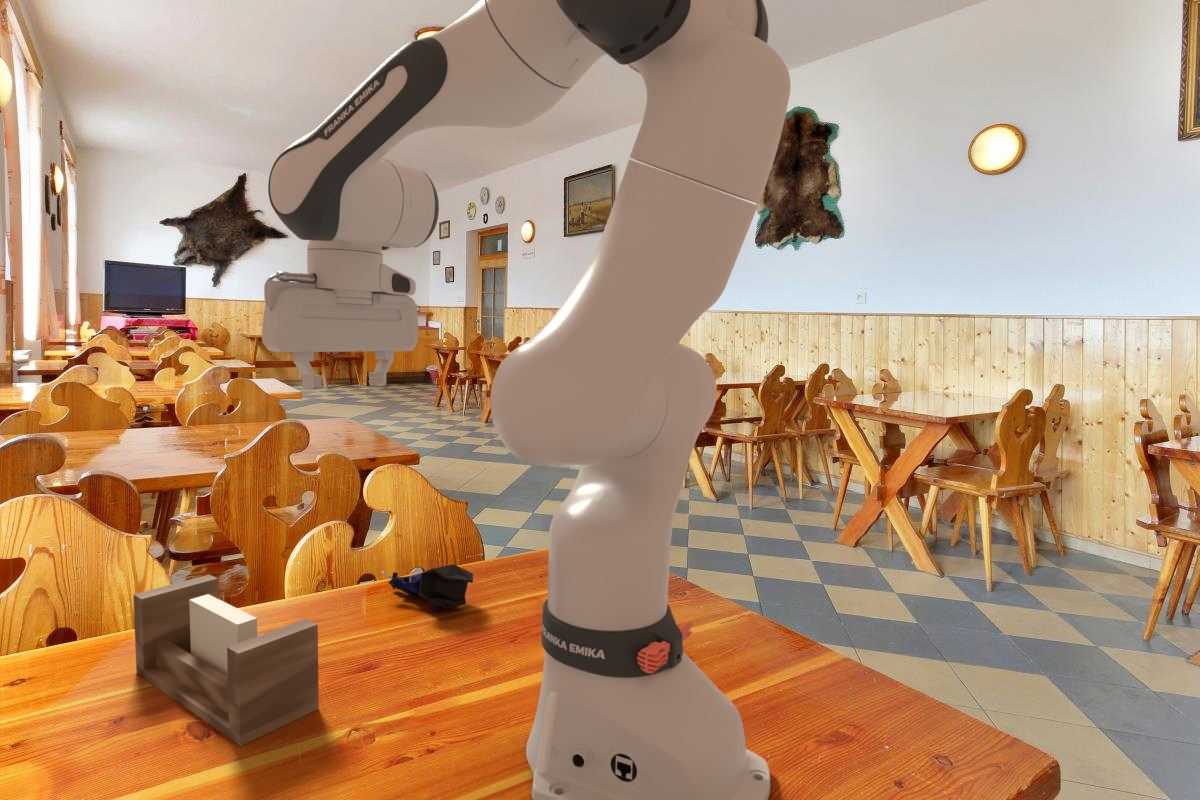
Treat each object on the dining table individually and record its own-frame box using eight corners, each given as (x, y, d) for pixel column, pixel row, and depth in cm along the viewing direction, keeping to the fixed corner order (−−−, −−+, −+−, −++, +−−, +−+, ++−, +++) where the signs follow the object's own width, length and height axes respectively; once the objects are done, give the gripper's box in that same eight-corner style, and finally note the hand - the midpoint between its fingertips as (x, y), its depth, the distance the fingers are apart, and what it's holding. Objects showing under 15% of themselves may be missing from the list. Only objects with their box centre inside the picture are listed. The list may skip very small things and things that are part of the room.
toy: (428, 569, 107) (490, 567, 97) (422, 612, 105) (485, 614, 95) (375, 563, 100) (436, 559, 91) (368, 608, 98) (430, 610, 89)
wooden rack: (318, 708, 70) (317, 624, 69) (240, 746, 64) (238, 653, 63) (211, 646, 83) (209, 574, 82) (136, 672, 76) (133, 594, 75)
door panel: (258, 692, 71) (257, 618, 70) (239, 700, 69) (237, 624, 69) (210, 663, 77) (208, 594, 76) (191, 670, 75) (189, 599, 74)
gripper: (280, 269, 75) (282, 394, 77) (425, 282, 92) (425, 385, 93) (249, 270, 79) (252, 390, 80) (395, 283, 96) (395, 382, 97)
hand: (346, 387), depth 87 cm, fingers open, 8 cm apart
